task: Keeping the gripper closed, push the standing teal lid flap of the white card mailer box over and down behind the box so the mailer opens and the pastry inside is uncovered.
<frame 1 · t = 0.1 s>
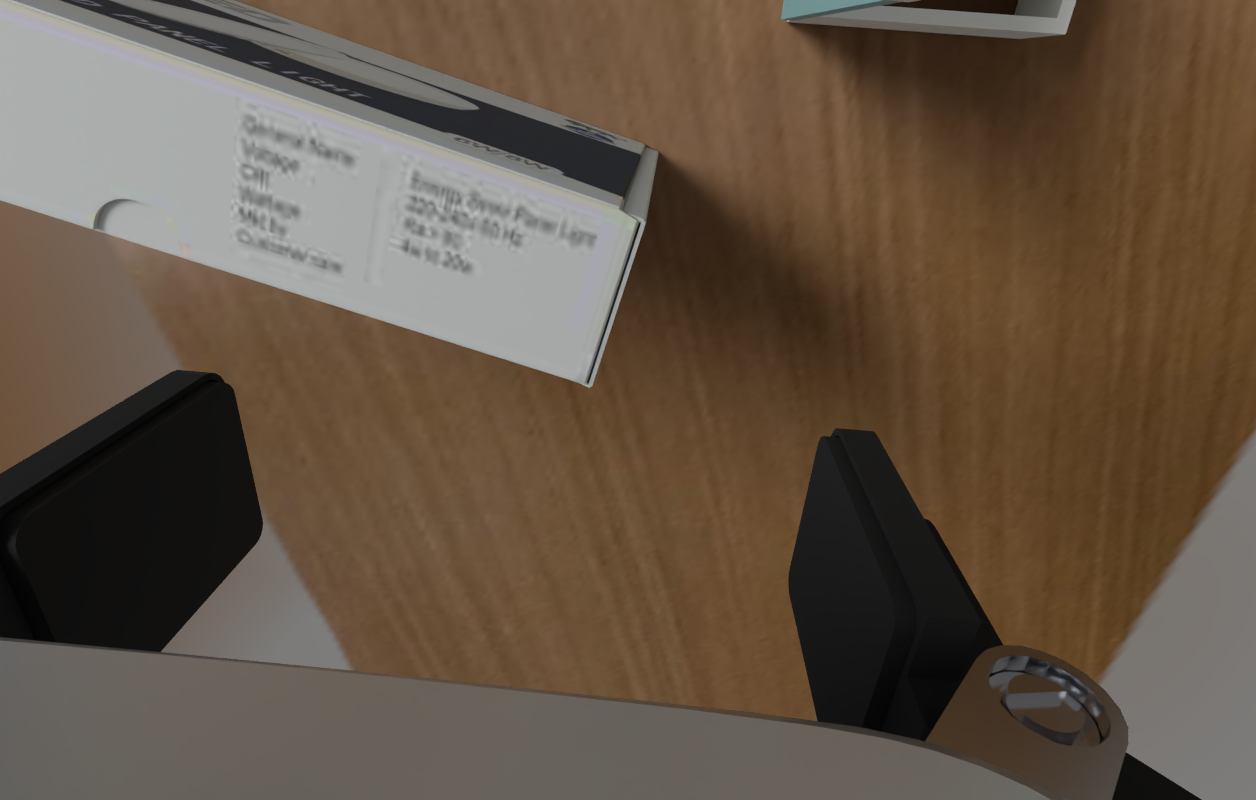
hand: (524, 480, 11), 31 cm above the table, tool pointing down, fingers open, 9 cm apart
packaging: (392, 115, 38), on the table
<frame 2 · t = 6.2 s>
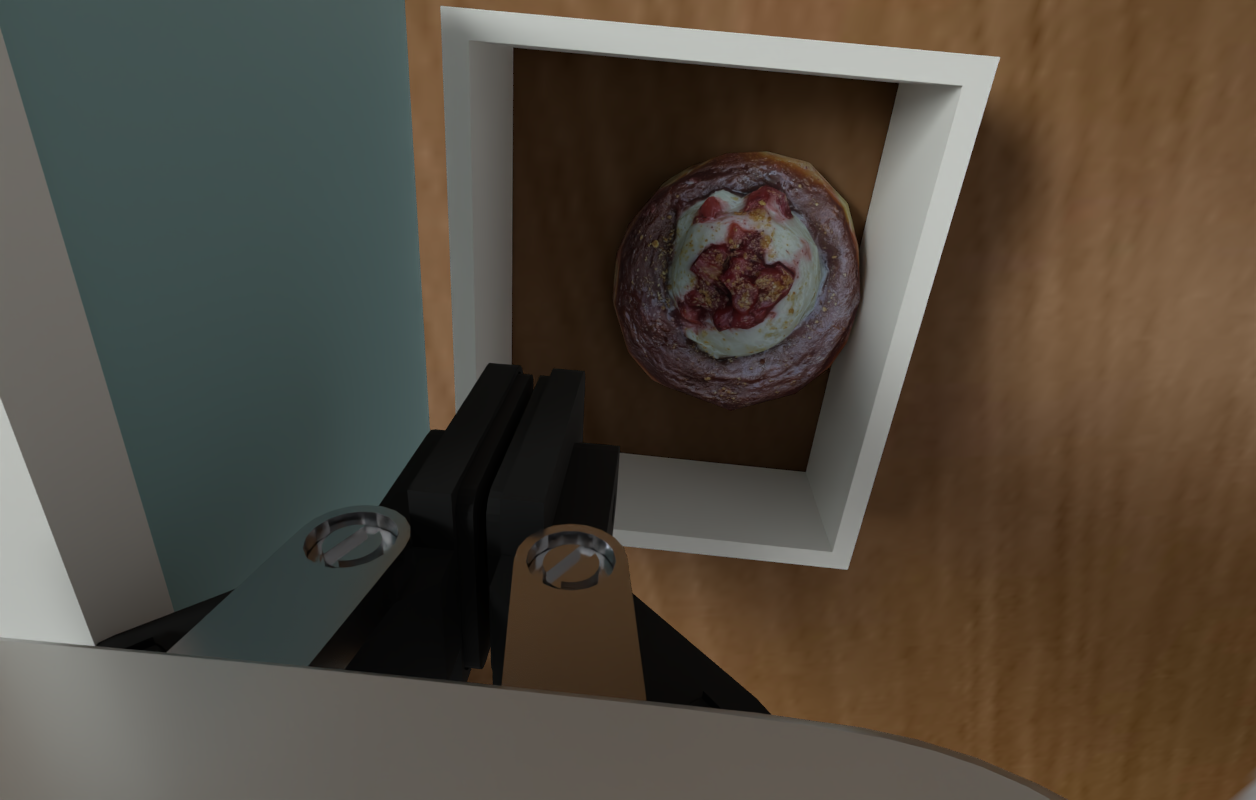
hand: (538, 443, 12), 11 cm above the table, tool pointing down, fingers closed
lid: (313, 430, 12), point 11 cm above the table, hinge at 87.4°, touching gripper
pastry: (731, 277, 21), resting in mailer box
mailer box: (678, 287, 21), on the table
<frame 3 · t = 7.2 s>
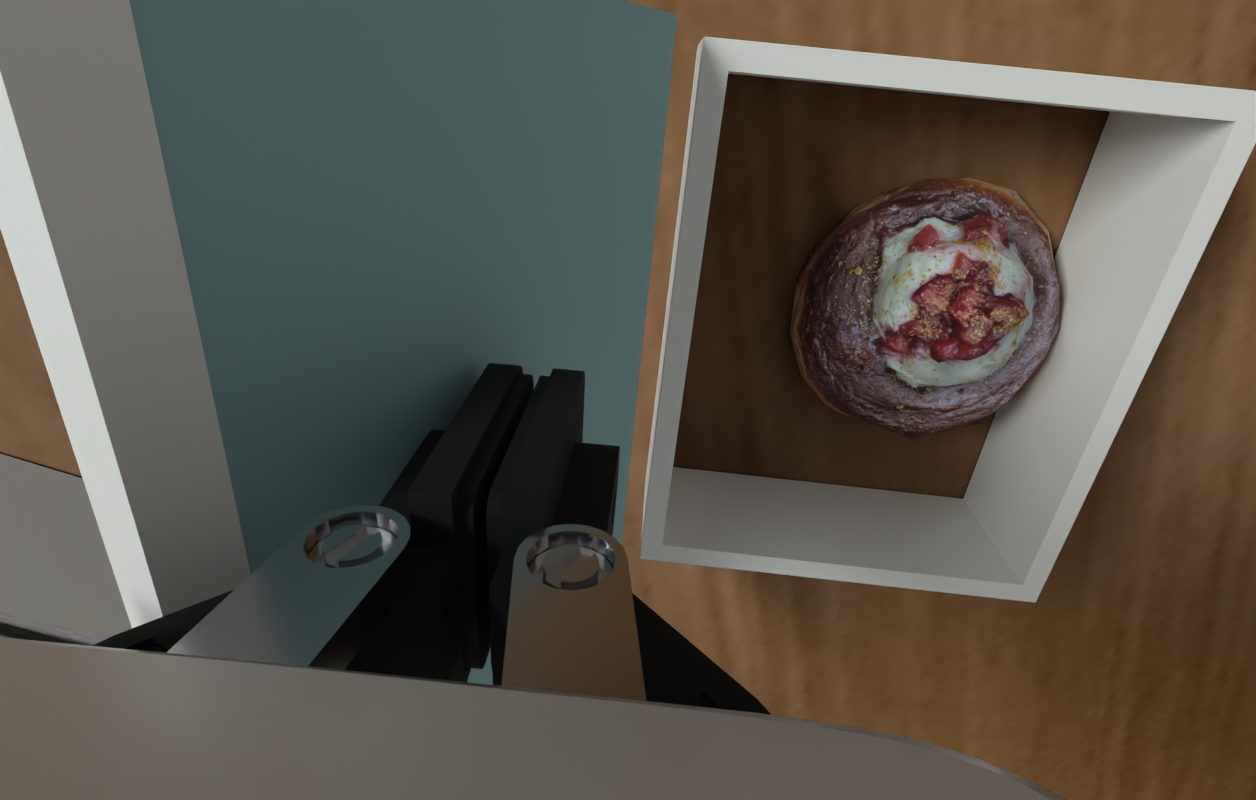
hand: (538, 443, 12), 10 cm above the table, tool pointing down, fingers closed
lid: (476, 434, 12), point 10 cm above the table, hinge at 117.4°, touching gripper
pastry: (908, 302, 21), resting in mailer box
mailer box: (855, 313, 21), on the table
packaging: (115, 539, 27), on the table
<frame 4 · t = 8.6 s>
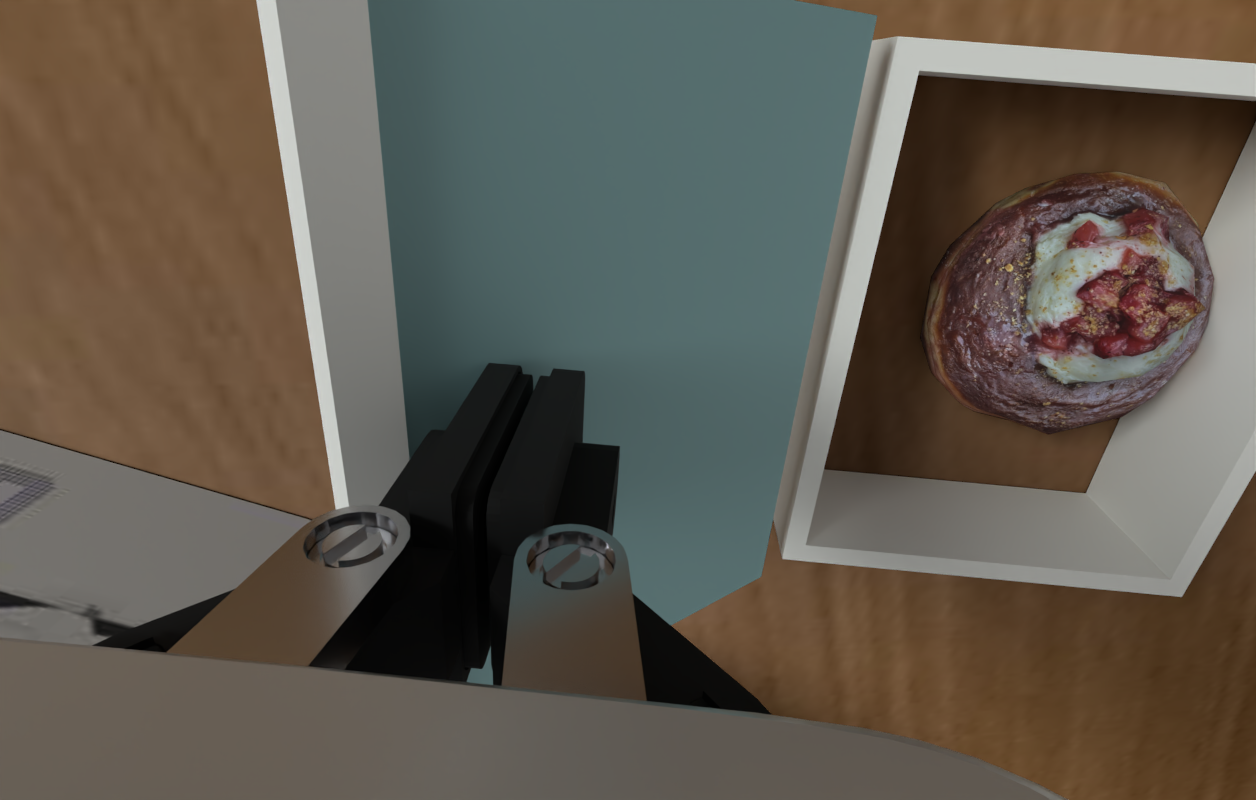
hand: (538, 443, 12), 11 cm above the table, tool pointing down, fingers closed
lid: (620, 394, 14), point 8 cm above the table, hinge at 139.6°, touching gripper
pastry: (1041, 298, 21), resting in mailer box
mailer box: (989, 309, 21), on the table
packaging: (224, 547, 28), on the table
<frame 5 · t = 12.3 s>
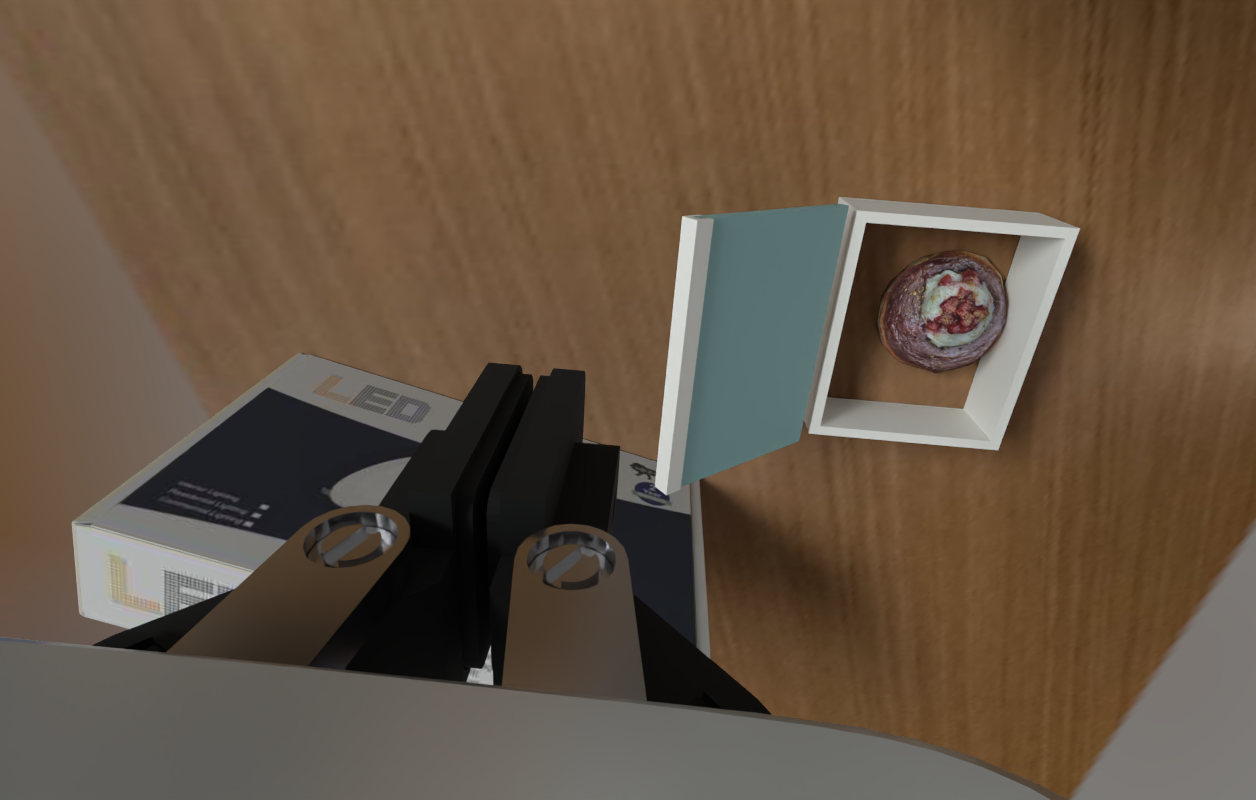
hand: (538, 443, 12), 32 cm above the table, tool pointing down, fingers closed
lid: (752, 348, 36), point 8 cm above the table, hinge at 139.7°
pastry: (935, 307, 43), resting in mailer box
mailer box: (908, 314, 43), on the table
packaging: (496, 446, 50), on the table
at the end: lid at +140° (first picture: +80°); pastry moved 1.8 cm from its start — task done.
